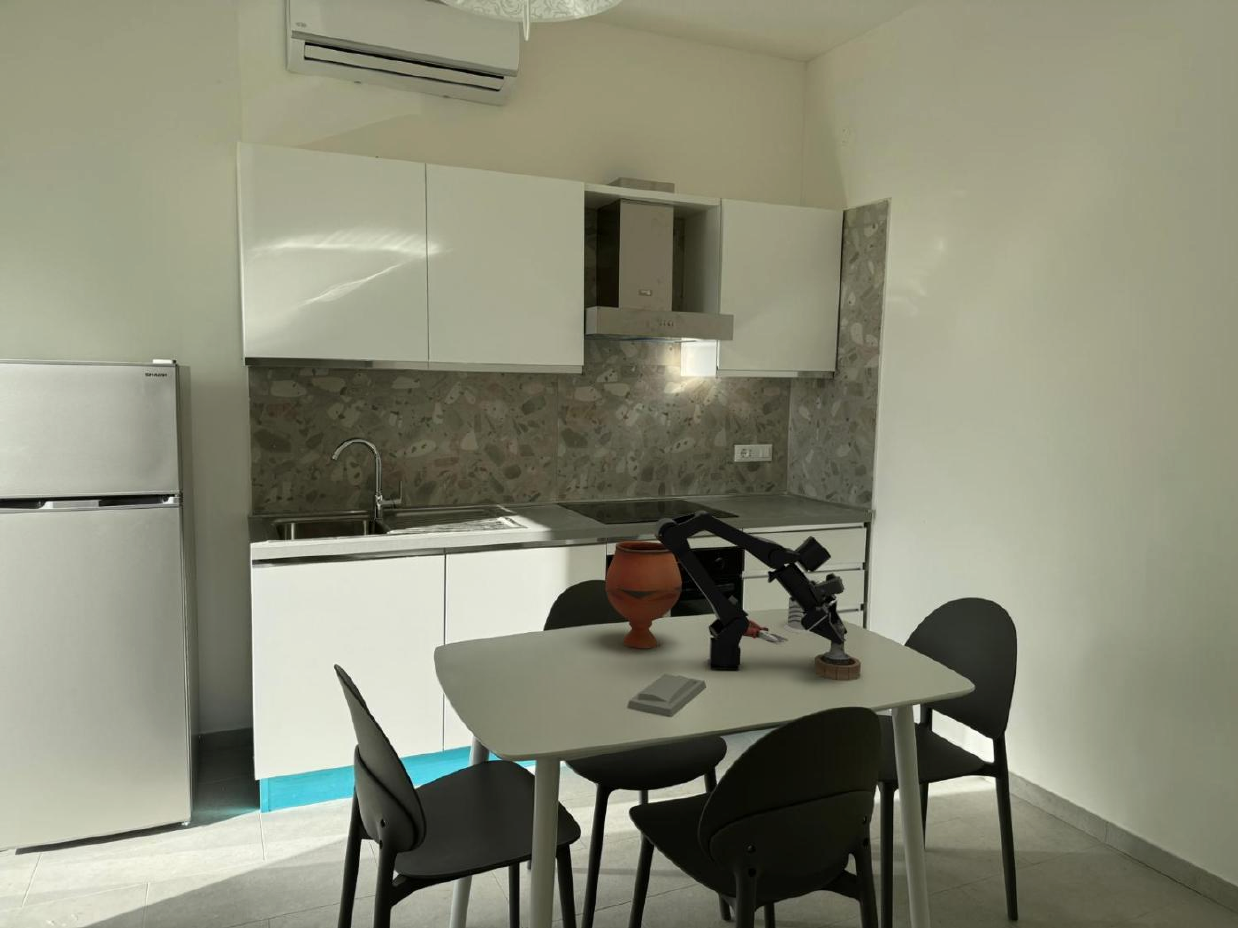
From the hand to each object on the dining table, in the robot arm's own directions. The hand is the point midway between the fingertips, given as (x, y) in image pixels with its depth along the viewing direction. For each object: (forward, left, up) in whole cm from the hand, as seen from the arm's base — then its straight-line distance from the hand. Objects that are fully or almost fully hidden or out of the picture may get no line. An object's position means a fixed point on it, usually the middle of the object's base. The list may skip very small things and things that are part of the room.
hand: (843, 638), depth 206 cm
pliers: (-18, +30, -9) cm, 36 cm away
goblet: (-46, +18, -8) cm, 50 cm away
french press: (-1, +37, -8) cm, 38 cm away
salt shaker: (-1, 0, -8) cm, 8 cm away
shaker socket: (-1, 0, -8) cm, 8 cm away
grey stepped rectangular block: (-41, -20, -9) cm, 46 cm away
